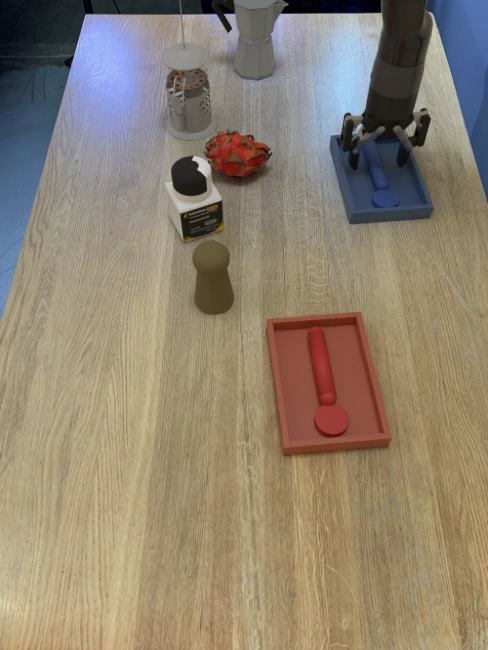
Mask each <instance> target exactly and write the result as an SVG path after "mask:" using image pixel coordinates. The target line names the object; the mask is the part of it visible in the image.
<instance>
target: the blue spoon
mask: <svg viewBox="0 0 488 650" xmlns="http://www.w3.org/2000/svg"><path fill="white" fill-rule="evenodd" d="M363 150H364V154H365V157H366V160H367V163H368V166H369V170H370V173H371V176H372V179H373V182H374V186H375V188H376V190H377V191H375V192H374V194H373V197H372V205H373V206H374V208H384V207H397V206H398V203H399V196H398V194H397V193H396V192H394V191H393V190H390V189H388V188H389V181H388V178H387V175H386V172H385V169H384V166H383V163H382V160H381V157H380V154H379V151H378V148H377V145H376V143H375V141H373V142H372V143H371V144H370V145H369V146H365V147H364V148H363Z"/></svg>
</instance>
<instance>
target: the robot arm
mask: <svg viewBox="0 0 488 650" xmlns="http://www.w3.org/2000/svg"><path fill="white" fill-rule="evenodd" d="M428 1H429V0H380V9H381V20H382V26H381V30H380V34H379V42H378V46H377V51H376V55H375V58H374V61H373V65H372V68H371V71H370V75H369V78H370V80H369V85H368V91H367V96H366V101H365V108H364V111H363V112H362V114H360V115H352V113H351V112H346V113H344V115H343V119H342V125H341V131H340V135H341V137H340V143H341V146H342V150H343V151H344V152H347V151H349V156H348V162H349V166H350V167H352V170H357V168H358V162H359V157H360V151H361V150H362V149H363V148H364V147H365V146H369V145H370V144H371V143H372V142H373V141H374V140H375V141H376V140H383V139H388V140H391V139H394V138H395V137H398V138H399V140H400V142H401V143H400V146H399V150H398V154H397V158H396V161H397V164H398V167H403V166H404V164H406V163H407V162H408V158H409V154H410V151H411V150H412V151H413V148H415V147H418V148H422V147H424V146H425V143H426V140H427V135H428V132H429V128H430V125H431V122H432V121H431V120H432V117H431V115H430V113H429V111H428V107H422V108H421V109H420V110H419V111H415V108H416V102H417V99H418V96H419V93H420V88H421V84H422V80H423V76H424V72H425V65H426V58H427V54H428V51H429V46H430V43H431V39H432V34H433V29H434V20H433V17H432V15H431V13H430V12H429V11H428V10H427V6H428V5H427V4H428ZM413 122H414V123H415V128H414V132H413V135H410V136H409V134H408V132H407V131H406V129H407V128H408V127H410V126H411V124H413ZM359 125H361V127H360V128H359V129H357V128H358V126H359ZM356 130H357V133H356V134H357V135H356V136H355V137H354V138H353V139H352V134H354V133H353V132H356ZM367 133H368V134H369V135H368V136H367ZM351 139H352V140H351Z"/></svg>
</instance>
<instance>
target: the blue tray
mask: <svg viewBox="0 0 488 650" xmlns="http://www.w3.org/2000/svg"><path fill="white" fill-rule="evenodd" d="M356 135H357V133H353V134H352V139H353V138H354V137H355V136H356ZM368 135H369V134H368V132H367V136H368ZM340 137H341V134H332V135H331V134H330V139H329V146H328V148H329V150H330V154H331V158H332V162H333V166H334V169H335V170H334V171H335V175H336V178H337V181H338V185H339V187H340V188H339V189H340V193H341V197H342V201H343V204H344V209H345V211H346V216H347V219H348V224H349V225H353V224H354V225H355V224H369V223H381V222H382V223H383V222H395V221H409V220H411V221H412V220H424V219H431V217H432V214H433V211H434V208H435V207H434V204H433V201H432V198H431V196H430V193H429V191H428V189H427V186H426V183H425V180H424V178H423V175H422V173H421V169H420V166H419V164H418V161H417V159H416V157H415V154H414V150H413V149H412V150H411V151H410V154H409V158H408V162H407V163H406V164H404V166H403V167H398V164H397V161H396V158H397V154H398V150H399V146H400V143H401V142H400V140H399V138H398V137H395V138H394V139H391V140H388V139H383V140H376V141H375V140H374V141H375V143H376V145H377V148H378V151H379V154H380V157H381V160H382V163H383V166H384V169H385V172H386V175H387V178H388V181H389V188H388V189H390V190H393V191H394V192H396V193H397V194H398V196H399V203H398V206H397V207H384V208H374V206H373V205H372V197H373V194H374V192H375V191H377V190H376V188H375V186H374V182H373V179H372V176H371V173H370V170H369V166H368V163H367V160H366V157H365V154H364V150H363V149H362V150H361V151H360V157H359V162H358V168H357V170H352V167H350V166H349V162H348V156H349V151H347V152H344V151H343V150H342V146H341V143H340ZM352 139H351V140H352Z"/></svg>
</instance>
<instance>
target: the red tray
mask: <svg viewBox="0 0 488 650" xmlns="http://www.w3.org/2000/svg"><path fill="white" fill-rule="evenodd" d="M363 319H364V318H363V316H362V311H351V312H340V313H339V312H338V313H326V314H314V315H312V314H311V315H300V316H299V315H298V316H288V317H275V318H266V322H265V323H266V325H265V330H266V337H267V345H268V353H269V361H270V367H271V375H272V382H273V389H274V397H275V405H276V412H277V420H278V427H279V433H280V434H279V435H280V442H281V450H282V456H292V455H293V456H294V455H303V454H313V453H314V454H315V453H325V452H336V451H338V452H339V451H347V450H360V449H372V448H381V447H382V448H383V447H389V445H390V443H391V441H392V439H393V438H392V433H391V430H390V425H389V421H388V417H387V412H386V408H385V405H384V402H383V401H384V400H383V396H382V393H381V388H380V385H379V381H378V376H377V373H376V369H375V365H374V360H373V356H372V352H371V347H370V344H369V340H368V335H367V331H366V327H365V323H364V320H363ZM314 326H318V327H320V328H322V329H323V331H324V334H325V339H326V344H327V349H328V354H329V359H330V364H331V369H332V374H333V379H334V384H335V389H336V394H337V401H336V403H335V404H337V405H340V406H341V407H343V408H344V409H345V411H346V412H347V414H348V417H349V423H348V427H347V429H346V431H345V432H344V433H343V434H342V435H341V436H339V437H334V438H329V437H325V436H323V435H322V434H320V433H319V432H318V431H317V429H316V427H315V425H314V418H315V413H316V411H317V409H318V408H319V407H320V406H322V404H321V403H320V401H319V397H318V391H317V386H316V380H315V374H314V369H313V363H312V358H311V352H310V347H309V341H308V331H309V329H310V328H312V327H314Z"/></svg>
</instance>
